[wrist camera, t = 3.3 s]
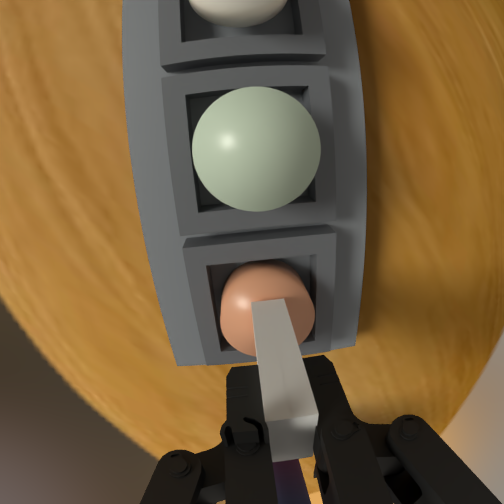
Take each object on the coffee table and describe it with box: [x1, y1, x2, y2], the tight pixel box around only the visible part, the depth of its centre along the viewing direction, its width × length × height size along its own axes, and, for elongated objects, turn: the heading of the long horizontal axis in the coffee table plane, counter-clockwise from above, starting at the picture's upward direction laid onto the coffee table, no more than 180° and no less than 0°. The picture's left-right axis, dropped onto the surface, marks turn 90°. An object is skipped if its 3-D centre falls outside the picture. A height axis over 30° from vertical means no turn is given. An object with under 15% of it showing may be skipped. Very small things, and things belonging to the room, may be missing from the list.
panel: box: [122, 0, 367, 366], centre depth 14 cm, size 26×12×4 cm, turn 5°
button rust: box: [220, 259, 315, 357], centre depth 15 cm, size 5×5×2 cm
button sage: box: [192, 87, 321, 212], centre depth 11 cm, size 5×5×2 cm
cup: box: [272, 459, 311, 504], centre depth 17 cm, size 7×7×15 cm
